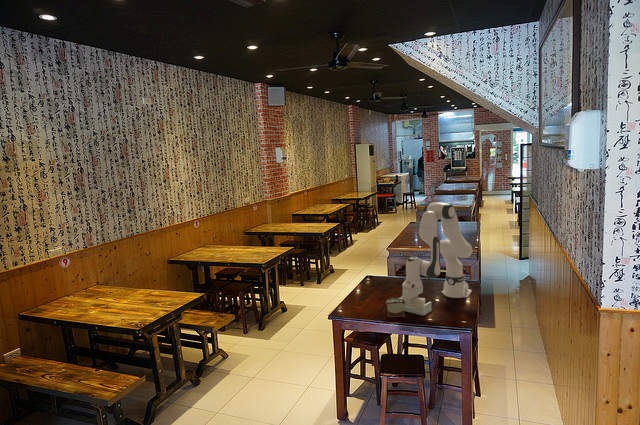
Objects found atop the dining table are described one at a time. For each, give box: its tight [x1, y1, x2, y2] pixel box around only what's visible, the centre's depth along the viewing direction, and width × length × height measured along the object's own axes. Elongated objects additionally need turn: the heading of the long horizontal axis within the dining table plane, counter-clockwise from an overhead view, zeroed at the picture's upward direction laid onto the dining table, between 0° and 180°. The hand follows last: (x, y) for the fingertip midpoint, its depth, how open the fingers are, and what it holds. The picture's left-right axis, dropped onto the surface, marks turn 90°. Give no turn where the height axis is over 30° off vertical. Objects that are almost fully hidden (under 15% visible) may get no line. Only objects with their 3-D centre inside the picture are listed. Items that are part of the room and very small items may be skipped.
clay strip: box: [401, 294, 426, 309], centre depth 276 cm, size 4×15×6 cm, turn 49°
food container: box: [385, 297, 406, 318], centre depth 269 cm, size 12×6×10 cm, turn 92°
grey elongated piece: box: [398, 296, 432, 316], centre depth 276 cm, size 10×20×6 cm, turn 49°
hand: (413, 302), depth 276 cm, fingers closed on clay strip, 4 cm apart
